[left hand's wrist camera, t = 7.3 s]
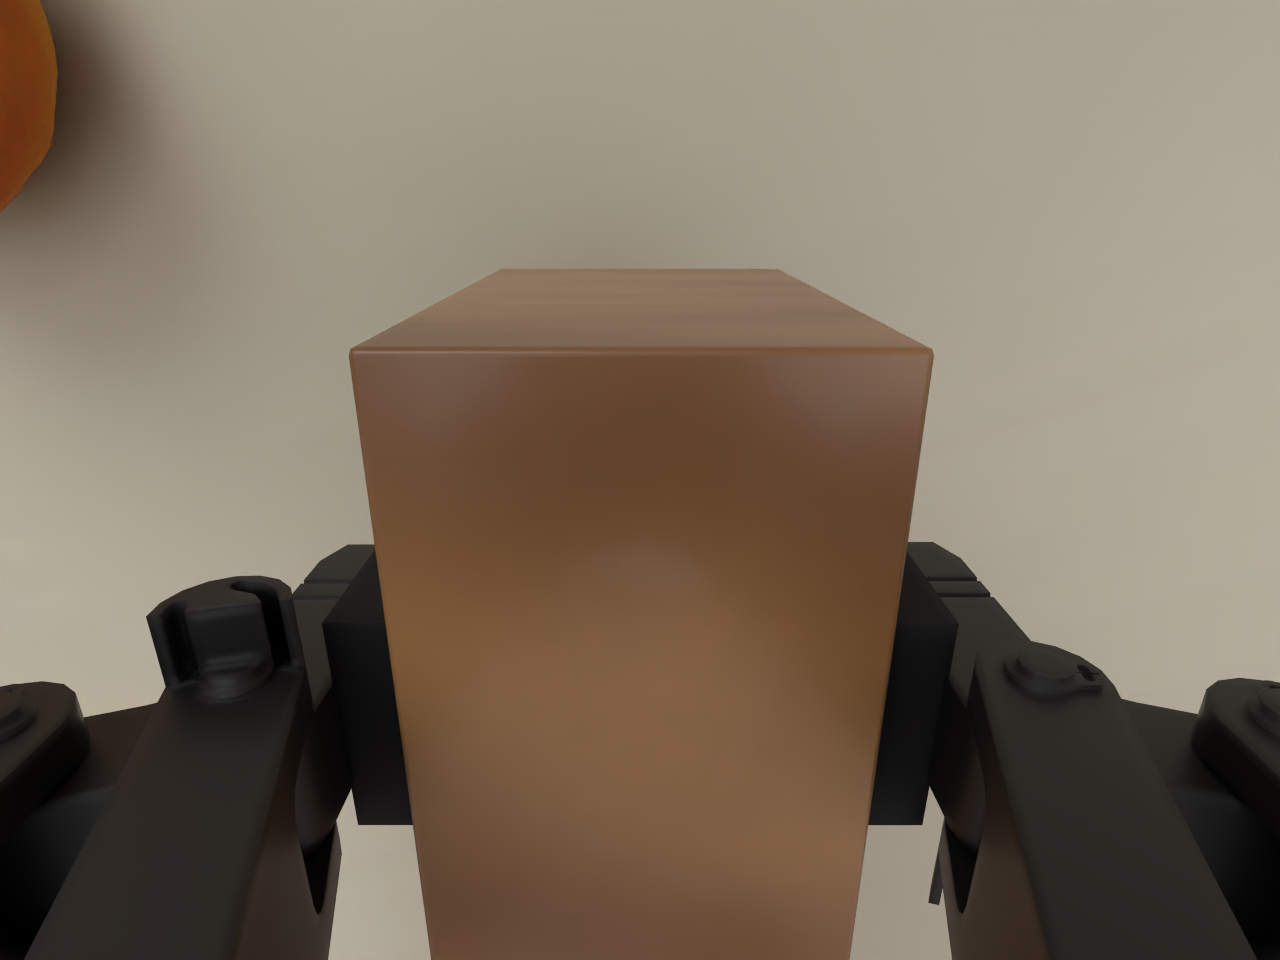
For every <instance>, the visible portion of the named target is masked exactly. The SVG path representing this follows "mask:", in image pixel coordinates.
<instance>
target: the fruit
mask: <svg viewBox="0 0 1280 960" xmlns="http://www.w3.org/2000/svg"><path fill="white" fill-rule="evenodd" d="M57 76H58V69H57V63H56V53H55V48H54V44H53V40H52V36H51V31H50V27H49V24H48V21H47V18H46V15H45V12H44V9H43V7H42V4H41V1H40V0H0V212H1V211H2V210H3V209H4V208H5V207H6V206H7V205H8V203H9V202H10V201H11V200H12V199H13V198H14V197H15V196H16V195H17V194H18V193H19V192H20V190H21V189H22V187H23V185H24V184H25V182H26V180H27V179H28V178H29V176H30V175H31V174H32V173H33V171H34V170H35V169H36V168H37V167H38V166H39V165H40V164H41V163H42V161H43V159H44V157H45V156H46V154H47V152H48V150H49V148H50V146H51V141H52V136H53V131H54V116H55V107H56V92H57Z"/></svg>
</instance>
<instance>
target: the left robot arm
mask: <svg viewBox="0 0 1280 960" xmlns="http://www.w3.org/2000/svg"><path fill="white" fill-rule="evenodd" d="M146 618H147V622H148V625H149V629H150V632H151V636H152V639H153V643H154V646H155V650H156V654H157V657H158V661H159V664H160V668H161V671H162V675H163V678H164V682H165V685H166V687H165V689H164V691H163V693H162V695H161V697H160V699H159V701H158V703H154V704H150V705H146V706H141V707H136V708H131V709H126V710H120V711H115V712H110V713H105V714H100V715H94V716H89V717H83V714H82V711H81V708H80V705H79V702H78V699H77V696H76V693H75V692H74V691H72V690H71V689H70V688H68V687H67V686H66V685H64V684H59V683H51V682H43V681H41V682H32V683H24V684H12V685H7V686H2V687H0V960H328V955H329V948H330V940H331V932H332V925H333V917H334V909H335V901H336V894H337V886H338V878H339V871H340V863H341V855H342V852H341V845H340V837H339V832H338V827H337V822H336V820H337V818H338V815H339V813H340V811H341V809H342V807H343V805H344V803H345V801H346V799H347V797H348V794H349V792H350V790H351V788H352V793H353V799H354V804H355V810H356V815H357V821H358V825H413V822H412V814H411V807H410V800H409V792H408V785H407V778H406V770H405V763H404V756H403V748H402V741H401V734H400V726H399V719H398V712H397V704H396V697H395V690H394V682H393V675H392V668H391V661H390V653H389V646H388V639H387V631H386V624H385V617H384V609H383V602H382V595H381V587H380V580H379V573H378V565H377V558H376V551H375V545H346V546H345V547H343V548H341V549H340V550H338V551H336V552H335V553H333V554H331V555H329V556H328V557H326V558H324V559H323V560H321V561H320V562H319V563H318V564H317V565H316V567H315V568H314V569H313V570H312V571H311V572H310V574H309V575H308V576H307V577H306V578H305V580H304V584H300V586H299V587H298V588H297V589H296V590H295V591H294V593H293V594H292V592H291V588H290V587H289V586H288V585H286V584H285V583H284V582H282V581H281V580H279V579H274V578H269V577H264V576H235V577H230V578H225V579H219V580H214V581H209V582H206V583H203V584H200V585H197V586H194V587H192V588H189V589H186V590H183V591H181V592H179V593H177V594H175V595H174V596H172V597H170V598H168V599H166V600H165V601H163V602H161V603H160V604H159V605H158V606H157V607H156V608H155V609H154V610H153V611H151V612H150V613H149V614H148V615H147V616H146ZM929 785H930V787H931V790H932V792H933V794H934V796H935V798H936V800H937V802H938V804H939V806H940V808H941V810H942V813H943V815H944V822H943V827H942V832H941V837H940V843H939V848H938V853H937V858H936V863H935V868H934V873H933V878H932V883H931V889H930V896H929V903H932V904H936V905H939V903H940V898H941V893H942V889H943V892H944V900H945V907H946V915H947V923H948V930H949V938H950V946H951V953H952V960H1280V683H1278V682H1273V681H1267V680H1265V681H1262V680H1254V679H1245V678H1235V679H1227V680H1219V681H1217V682H1216V683H1214V684H1213V685H1212V686H1210V687H1209V688H1208V689H1206V692H1205V695H1204V698H1203V701H1202V704H1201V707H1200V710H1199V713H1198V714H1194V713H1189V712H1183V711H1178V710H1173V709H1168V708H1162V707H1157V706H1152V705H1147V704H1142V703H1136V702H1132V701H1128V700H1124V699H1121V697H1120V696H1119V694H1118V692H1117V690H1116V688H1115V686H1114V685H1113V684H1112V682H1111V681H1110V680H1109V679H1108V678H1107V676H1106V675H1105V674H1104V673H1103V672H1102V671H1101V670H1100V669H1098V668H1097V667H1095V666H1094V665H1092V664H1091V663H1089V662H1088V661H1086V660H1085V659H1083V658H1082V657H1080V656H1077V655H1075V654H1073V653H1070V652H1068V651H1065V650H1063V649H1060V648H1058V647H1055V646H1051V645H1046V644H1042V643H1037V642H1033V641H1030V639H1029V638H1028V637H1027V636H1026V635H1025V633H1024V632H1023V631H1022V630H1021V629H1020V628H1019V626H1018V625H1017V624H1016V623H1015V622H1014V621H1013V619H1012V618H1011V617H1010V616H1009V615H1008V613H1007V612H1006V611H1005V610H1004V609H1003V608H1002V606H1001V605H1000V604H999V603H998V602H997V601H996V599H995V598H994V597H990V592H989V591H988V590H987V589H986V588H985V586H984V585H983V584H982V583H981V582H980V581H977V577H976V576H975V575H974V573H973V572H972V571H971V570H970V569H969V568H968V566H967V565H966V564H965V563H964V562H963V561H962V559H961V558H959V557H957V556H956V555H954V554H952V553H951V552H949V551H947V550H945V549H944V548H942V547H940V546H939V545H937V544H935V543H933V542H908V544H907V551H906V558H905V565H904V572H903V580H902V587H901V594H900V601H899V608H898V615H897V622H896V630H895V637H894V644H893V651H892V658H891V665H890V673H889V680H888V687H887V694H886V701H885V708H884V715H883V723H882V730H881V737H880V744H879V751H878V758H877V765H876V773H875V780H874V787H873V794H872V801H871V808H870V816H869V823H868V825H922V823H923V818H924V812H925V807H926V801H927V796H928V790H929Z"/></svg>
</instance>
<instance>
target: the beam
mask: <svg viewBox="0 0 1280 960" xmlns="http://www.w3.org/2000/svg"><path fill="white" fill-rule="evenodd" d="M933 358H934V354H933V351H932V349H931V348H929V347H927V346H925V345H923V344H921V343H919V342H917V341H915V340H913V339H911V338H909V337H907V336H906V335H904V334H902V333H900V332H898V331H896V330H894V329H892V328H890V327H888V326H886V325H884V324H882V323H881V322H879V321H877V320H875V319H873V318H871V317H869V316H867V315H865V314H863V313H861V312H859V311H857V310H856V309H854V308H852V307H850V306H848V305H846V304H844V303H842V302H840V301H838V300H836V299H834V298H832V297H831V296H829V295H827V294H825V293H823V292H821V291H819V290H817V289H815V288H813V287H811V286H809V285H807V284H806V283H804V282H802V281H800V280H798V279H796V278H794V277H792V276H790V275H788V274H786V273H784V272H782V271H781V270H778V269H501V270H499V271H497V272H495V273H493V274H491V275H489V276H487V277H486V278H484V279H482V280H480V281H478V282H476V283H474V284H472V285H470V286H469V287H467V288H465V289H463V290H461V291H459V292H457V293H455V294H453V295H452V296H450V297H448V298H446V299H444V300H442V301H440V302H438V303H436V304H435V305H433V306H431V307H429V308H427V309H425V310H423V311H421V312H419V313H418V314H416V315H414V316H412V317H410V318H408V319H406V320H404V321H402V322H401V323H399V324H397V325H395V326H393V327H391V328H389V329H387V330H385V331H384V332H382V333H380V334H378V335H376V336H374V337H372V338H370V339H368V340H367V341H365V342H363V343H361V344H359V345H357V346H355V347H353V348H351V349H350V353H349V360H350V368H351V375H352V382H353V390H354V397H355V404H356V412H357V419H358V426H359V433H360V441H361V448H362V455H363V463H364V470H365V477H366V485H367V492H368V499H369V507H370V514H371V521H372V529H373V536H374V543H375V551H376V558H377V565H378V573H379V580H380V587H381V595H382V602H383V609H384V617H385V624H386V631H387V639H388V646H389V653H390V661H391V668H392V675H393V682H394V690H395V697H396V704H397V712H398V719H399V726H400V734H401V741H402V748H403V756H404V763H405V770H406V778H407V785H408V792H409V800H410V807H411V814H412V822H413V829H414V836H415V844H416V851H417V858H418V866H419V873H420V880H421V888H422V895H423V902H424V909H425V917H426V924H427V931H428V939H429V946H430V953H431V960H849V959H850V951H851V944H852V937H853V930H854V923H855V916H856V909H857V901H858V894H859V887H860V880H861V873H862V866H863V858H864V851H865V844H866V837H867V830H868V823H869V816H870V808H871V801H872V794H873V787H874V780H875V773H876V765H877V758H878V751H879V744H880V737H881V730H882V723H883V715H884V708H885V701H886V694H887V687H888V680H889V673H890V665H891V658H892V651H893V644H894V637H895V630H896V622H897V615H898V608H899V601H900V594H901V587H902V580H903V572H904V565H905V558H906V551H907V544H908V537H909V529H910V522H911V515H912V508H913V501H914V494H915V487H916V479H917V472H918V465H919V458H920V451H921V444H922V436H923V429H924V422H925V415H926V408H927V401H928V394H929V386H930V379H931V372H932V365H933Z"/></svg>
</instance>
